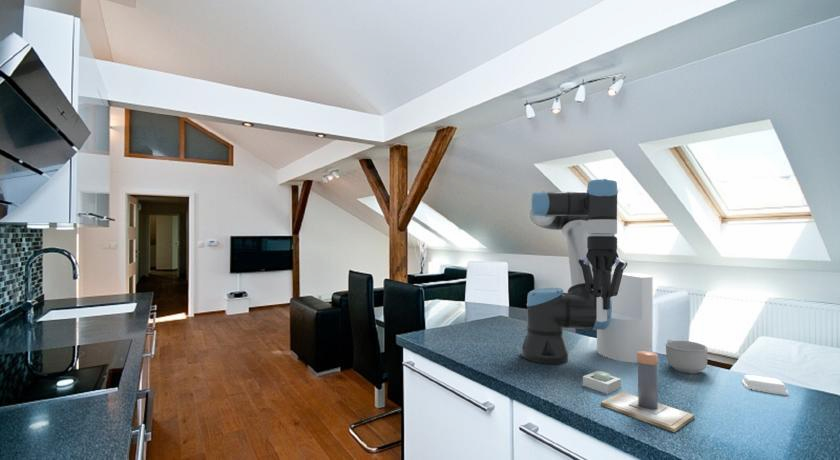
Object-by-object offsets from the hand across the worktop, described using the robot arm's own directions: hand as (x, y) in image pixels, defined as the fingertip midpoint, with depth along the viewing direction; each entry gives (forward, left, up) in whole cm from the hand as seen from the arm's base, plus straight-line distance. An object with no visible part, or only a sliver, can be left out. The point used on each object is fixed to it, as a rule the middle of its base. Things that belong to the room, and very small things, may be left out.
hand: (601, 320), depth 106 cm
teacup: (+7, +36, -18) cm, 41 cm away
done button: (0, 0, -18) cm, 18 cm away
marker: (+14, -5, -17) cm, 23 cm away
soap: (+26, +36, -19) cm, 49 cm away
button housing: (0, 0, -18) cm, 18 cm away
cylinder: (-11, +35, -18) cm, 41 cm away
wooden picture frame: (+14, -6, -18) cm, 24 cm away
